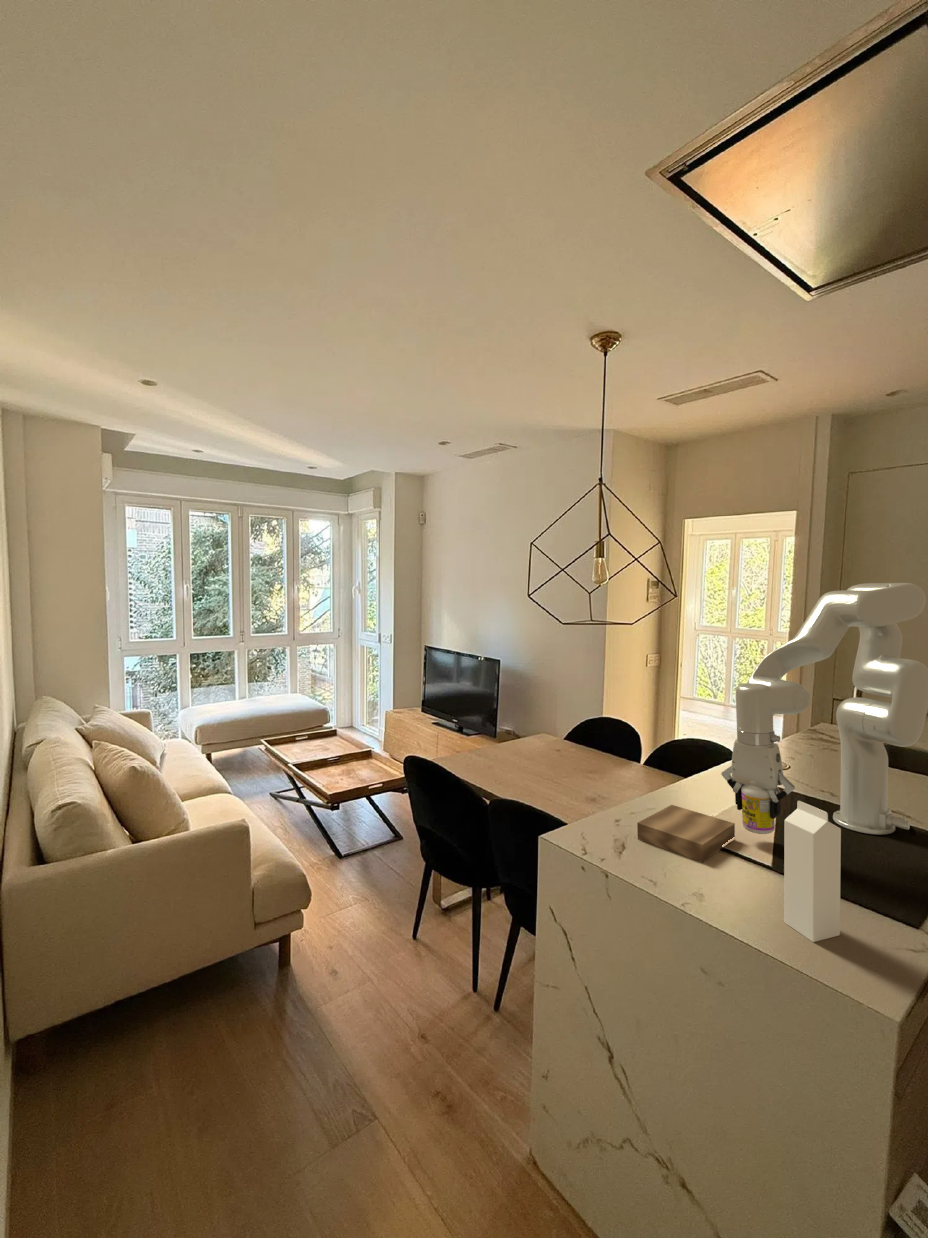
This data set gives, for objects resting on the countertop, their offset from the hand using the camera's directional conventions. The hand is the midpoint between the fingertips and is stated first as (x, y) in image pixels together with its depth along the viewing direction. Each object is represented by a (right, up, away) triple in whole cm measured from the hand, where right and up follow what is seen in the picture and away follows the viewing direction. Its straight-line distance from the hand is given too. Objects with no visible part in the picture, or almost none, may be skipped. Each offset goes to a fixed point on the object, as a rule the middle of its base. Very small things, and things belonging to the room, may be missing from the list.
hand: (757, 811), depth 129 cm
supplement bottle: (0, -4, 0) cm, 4 cm away
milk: (-7, -10, -32) cm, 34 cm away
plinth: (-15, -8, +3) cm, 18 cm away
